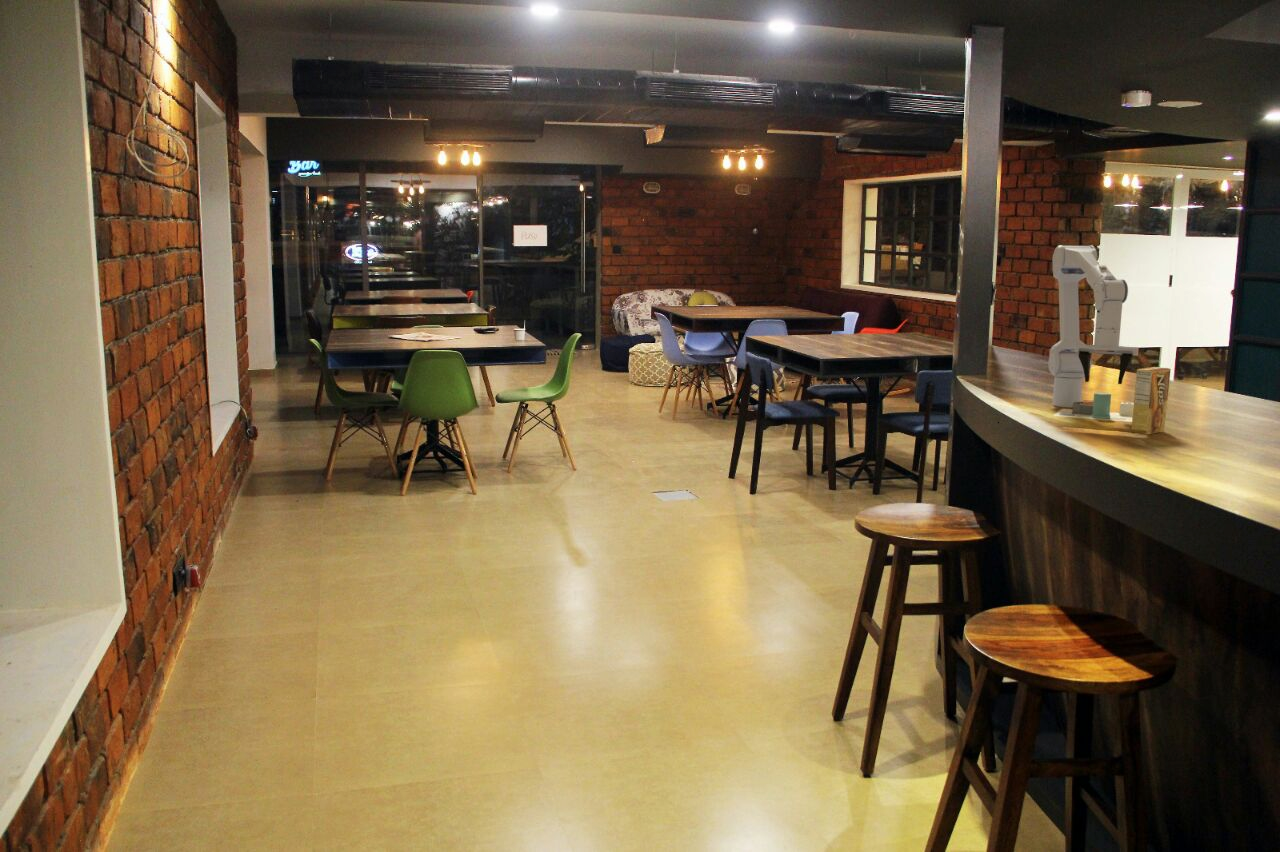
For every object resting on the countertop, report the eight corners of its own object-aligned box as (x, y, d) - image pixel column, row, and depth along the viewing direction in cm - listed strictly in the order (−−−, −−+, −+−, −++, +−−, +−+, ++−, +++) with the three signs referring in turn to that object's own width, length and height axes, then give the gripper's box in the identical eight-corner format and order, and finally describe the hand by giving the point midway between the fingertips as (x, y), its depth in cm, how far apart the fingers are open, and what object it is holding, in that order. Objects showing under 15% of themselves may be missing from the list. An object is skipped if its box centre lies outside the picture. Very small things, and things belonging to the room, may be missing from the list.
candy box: (1148, 429, 261) (1153, 366, 259) (1165, 431, 258) (1171, 368, 255) (1130, 433, 256) (1135, 368, 253) (1148, 435, 252) (1153, 370, 250)
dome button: (1079, 407, 284) (1080, 399, 283) (1102, 409, 281) (1103, 400, 280) (1076, 410, 279) (1077, 401, 278) (1100, 411, 276) (1100, 403, 276)
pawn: (1092, 415, 276) (1094, 392, 275) (1111, 417, 273) (1113, 393, 272) (1090, 417, 272) (1092, 394, 271) (1109, 419, 270) (1111, 395, 269)
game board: (1061, 412, 288) (1062, 397, 287) (1152, 419, 277) (1153, 403, 277) (1052, 419, 275) (1053, 403, 275) (1146, 427, 264) (1148, 410, 264)
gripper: (1074, 328, 269) (1070, 382, 271) (1137, 330, 262) (1133, 386, 264) (1078, 326, 275) (1074, 379, 277) (1140, 329, 268) (1136, 383, 270)
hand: (1103, 382), depth 271 cm, fingers open, 7 cm apart
